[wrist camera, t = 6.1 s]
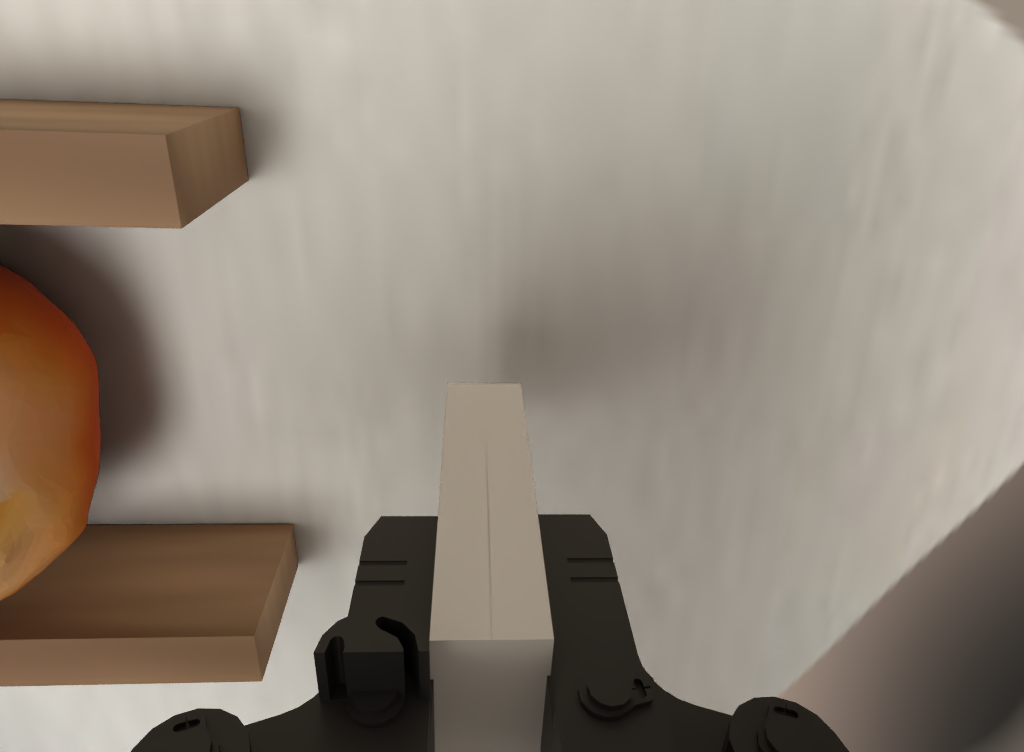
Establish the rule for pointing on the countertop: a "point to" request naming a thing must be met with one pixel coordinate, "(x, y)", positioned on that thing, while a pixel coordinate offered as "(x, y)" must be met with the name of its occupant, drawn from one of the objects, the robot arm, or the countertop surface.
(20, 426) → the fruit
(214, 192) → the guide lane
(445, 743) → the robot arm
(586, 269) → the countertop surface
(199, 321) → the countertop surface
